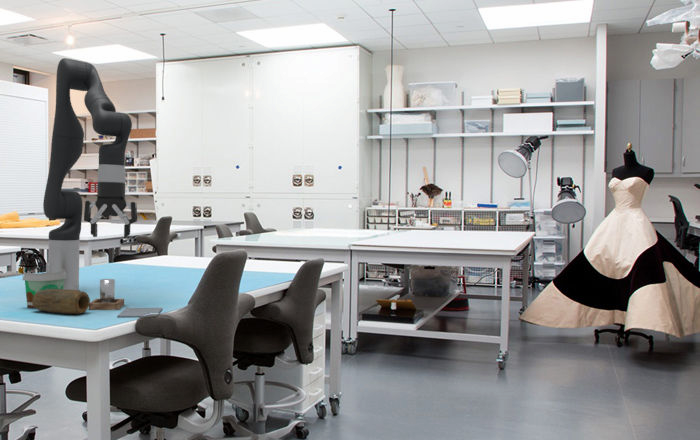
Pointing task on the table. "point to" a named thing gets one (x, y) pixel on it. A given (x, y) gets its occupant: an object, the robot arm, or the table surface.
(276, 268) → the table surface
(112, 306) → the socket
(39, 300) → the brown wooden cylinder
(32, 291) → the food container
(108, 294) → the steel pin
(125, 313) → the mat
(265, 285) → the table surface
